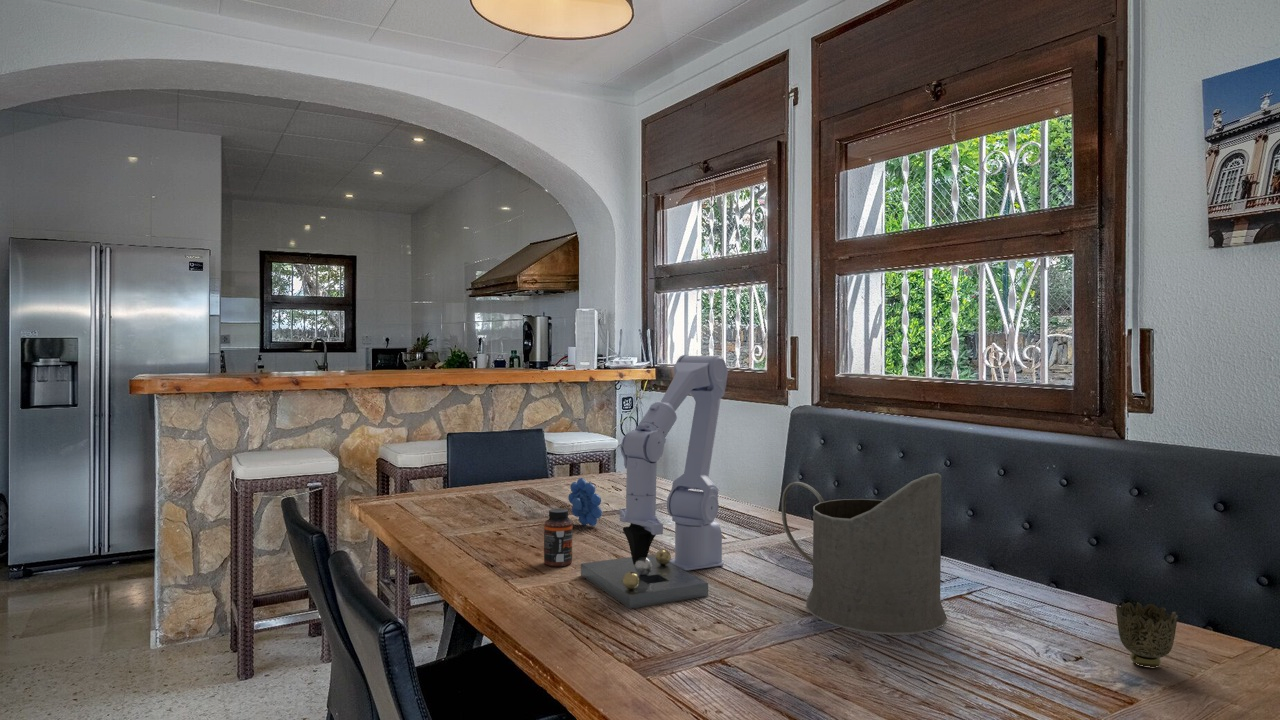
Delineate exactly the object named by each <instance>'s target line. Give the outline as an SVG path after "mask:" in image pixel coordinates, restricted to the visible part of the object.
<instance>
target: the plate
mask: <svg viewBox="0 0 1280 720" xmlns="http://www.w3.org/2000/svg"><path fill="white" fill-rule="evenodd" d="M647 558H649V559H650V560H651V561H652V564H653V568H652V571H651V572H650V573H649V574H648V575H640V574H638V573H637V572H636V570H635V565H634V564H633V561H632V556H627V557H620V558H613V559H606V560H605V559H604V560H599V561H597V560H596V561H589V562H582V563H580V577H582V576H583V578H584V579H585V578H586V580H587V581H588V582H589V583H591V584H593V585H594V586H595V585H596V586H595V587H597V588H598V587H599V589H600V590H601V589H602V590H601V591H603V592H604V591H605V592H604V593H606V594H607V593H608V594H607V595H609V596H610V597H612V598H613V597H614V598H615V599H614V598H613V599H614V600H616V601H617V600H618V601H617V602H619V603H620V602H621V604H622V605H623V604H624V607H626V608H627V609H629V610H631V608H633V609H638V608H644V607H650V606H656V605H663V604H668V603H673V602H681V601H686V600H692V599H700V598H705V597H709V582H707V581H705V579H704V580H703V579H701V578H699V577H698V576H696V575H693V574H692V573H689V572H688V571H685V570H683V569H681V568H679V567H677V566H675V565H673V564H671V563H668V564H666V565H660V564H659V563H658V562H657V561H656V555H655V554H652V553H649V554H648V555H647ZM628 572H634V573H636V574H637V575H638V577H639V585H638V586H637V587H636V588H635V589H627V588H626V587H625V586H624V585H623V577H624V575H625V574H626V573H628Z"/></svg>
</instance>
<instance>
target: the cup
mask: <svg viewBox="0 0 1280 720" xmlns="http://www.w3.org/2000/svg"><path fill="white" fill-rule="evenodd" d="M1116 604H1117V605H1115V606H1114V607H1115V612H1116V613H1115V614H1116V621H1117V630H1118V634H1119V636H1118V637H1119V639H1120V642H1121V643H1122V645H1123V647H1124V648H1125V649H1126V650H1127V651H1128V652H1130V657H1129V658H1130V660H1131V662H1132V661H1133V662H1134V663H1137V664H1139V665H1143V666H1150V667H1156V666H1159V665H1160V666H1161V664H1162V661H1161V658H1163V657H1166V656H1167V655H1168V654H1170V652H1171V651H1172V649H1173V646H1174V641H1175V637H1176V629H1177V623H1178V618H1179V615H1178V614H1177V613H1176V611H1172V612H1171V614H1170V613H1167V610H1166V608H1165V607H1164V606H1160V608H1158V607H1157V606H1156V605H1154V604H1153V603H1149V604H1146V605H1145V606H1143V604H1141V603H1140V602H1139V601H1138V602H1136V604H1135V605H1134V604H1133V603H1131V602H1130V601H1128V602H1126V603H1125V601H1123V602H1122V603H1121V605H1119V603H1116ZM1133 662H1132V663H1133ZM1134 663H1133V664H1134ZM1160 666H1159V667H1160Z"/></svg>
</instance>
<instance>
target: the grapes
mask: <svg viewBox="0 0 1280 720" xmlns="http://www.w3.org/2000/svg"><path fill="white" fill-rule="evenodd" d="M569 489H570V491H571V492H569V494H568V498H567V499H568V502H569V503H570V504H571V505H572V507H571V513H572V515H573V516H574V517H577V518H578V521H579V523H580V525H582V524H583V526H587V525H589V526H591V527H594V526H596V525H597V523H598V519H600V518H601V517H602V515H603V514H602V513H603V511H602V509H601V508H600V507H599V506H600V505H601V504H602V499H601V496H600V495H599V494H598V493H596V486H595V485H594V484H593V482H587V480H586V479H585V478H582V477H580V478H578V479H577V481H574V482H572V483H571V484H570V487H569ZM586 524H587V525H586Z"/></svg>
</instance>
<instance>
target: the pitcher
mask: <svg viewBox="0 0 1280 720" xmlns="http://www.w3.org/2000/svg"><path fill="white" fill-rule="evenodd" d="M794 485H795V486H796V485H797V486H801V487H804V488H805V489H807V490H809V491H810V492H811V493H812V494H814V496H815V497H816V498H817V500H818V503H816V504H815V505H813V507H812V509H813V511H812V513H813V516H812V517H813V518H812V519H813V523H812V524H813V525H812V526H813V527H812V528H813V529H812V531H813V532H812V533H813V534H812V536H813V537H812V557H811V556H809V555H808V554H807V553H806V552H805V551H804V550H803V549H802V548H801V547H800V545H799V544H798V543H797V541H796V540H795V538H794V537H793V536H794V535H792V533H791V531H790V528H789V525H788V521H787V496H788V493H789V491H790V489H791V488H792V487H793V486H794ZM781 518H782V519H781V521H782V525H783V528H784V531H785V535H786V536H787V538H788V539H789V541H790V542H791V544H792V546H793V547H794V548H795V550H797V552H798V553H799V554H800V555H801V556H802V557H803V558H804V559H805V560H806V561H808V562H809V563H811V564H812V587H811V590H810V592H809V595H807V596H808V597H807V598H806V605H805V609H806V610H807V611H808V612H809V613H810V614H811V615H812V616H813V617H816V618H817V619H819V620H822V621H823V622H824V623H827V624H831V625H833V626H835V627H836V626H837V627H840V628H842V629H846V630H851V631H857V632H861V633H865V634H866V633H867V634H877V635H878V634H879V635H887V636H888V635H889V636H894V635H895V636H897V635H899V636H900V635H901V636H902V635H918V634H924V633H929V632H928V631H930V632H933V631H935V629H936V630H937V628H938V629H940V628H942V627H943V626H942V625H945V624H946V622H945V621H947V620H948V617H947V614H946V612H945V609H944V607H943V604H942V602H941V573H942V572H941V571H942V570H941V569H942V568H941V564H942V563H941V561H942V559H941V558H942V557H941V556H942V555H941V554H942V553H941V552H942V547H941V546H942V545H941V544H942V475H941V474H939V473H938V472H935V473H930V474H926V475H923V476H921V477H919V478H917V479H914V480H912V481H910V482H909V483H906V484H905V485H904V486H902V487H901V488H899V489H898V490H897V491H895V492H894V493H892V494H891V495H889V497H887V498H886V499H884V500H883V499H868V498H867V499H865V498H859V499H858V498H856V499H855V498H854V499H852V498H851V499H850V498H849V499H833V500H827V501H825V500H824V498H823V497H822V495H821V494H820V492H818V490H816V489H815V488H814V487H812V485H809V484H807V483H805V482H801V481H793V482H790V483H789V484H788V485H787V486H786V487H785V488H784V490H783V493H782V496H781ZM946 619H947V620H946ZM944 623H945V624H944ZM941 626H942V627H941ZM939 627H940V628H939ZM923 632H924V633H923Z"/></svg>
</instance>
